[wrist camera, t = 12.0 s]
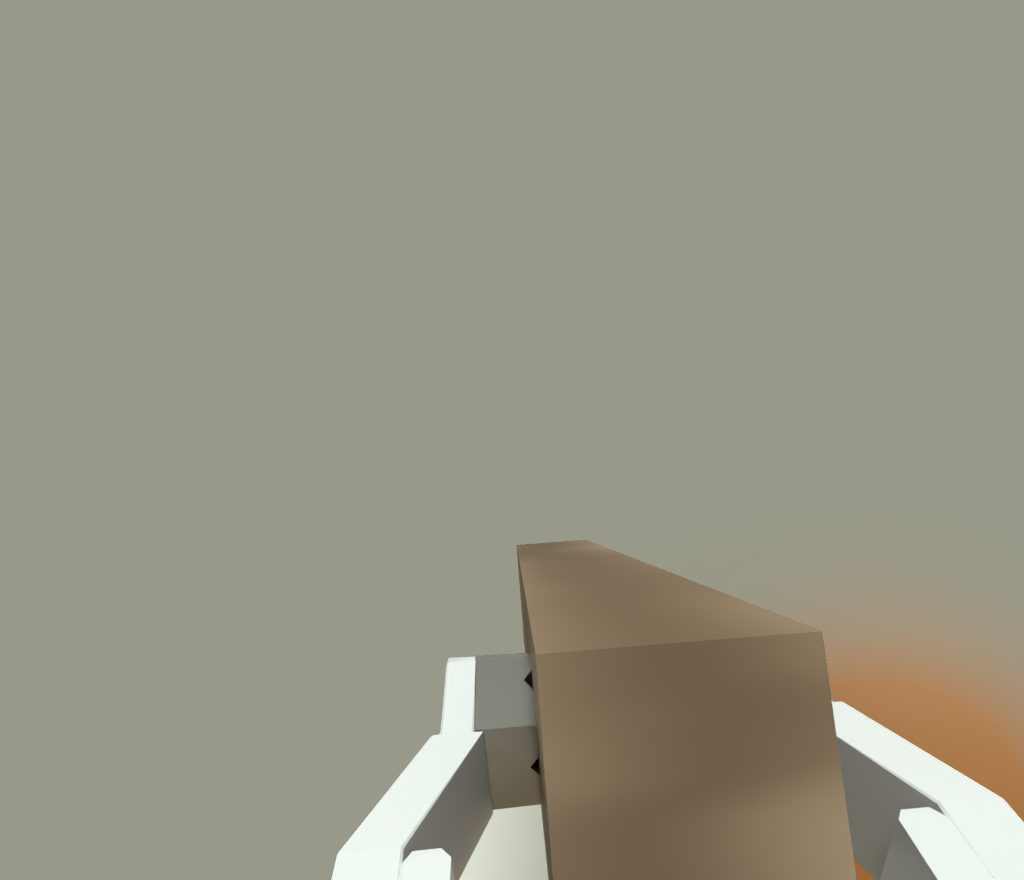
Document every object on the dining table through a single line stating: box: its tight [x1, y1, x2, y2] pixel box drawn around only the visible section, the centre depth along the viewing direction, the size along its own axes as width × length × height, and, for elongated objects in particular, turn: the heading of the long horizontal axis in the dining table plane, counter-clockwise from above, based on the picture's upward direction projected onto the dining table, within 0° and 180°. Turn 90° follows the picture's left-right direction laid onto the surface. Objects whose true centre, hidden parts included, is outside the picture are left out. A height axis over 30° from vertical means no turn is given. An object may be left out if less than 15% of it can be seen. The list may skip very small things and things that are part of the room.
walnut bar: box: [517, 540, 857, 880], centre depth 15 cm, size 3×19×4 cm, turn 0°
